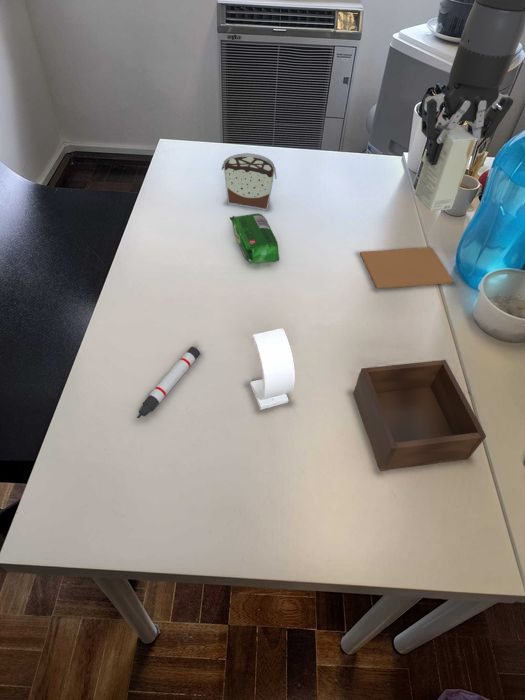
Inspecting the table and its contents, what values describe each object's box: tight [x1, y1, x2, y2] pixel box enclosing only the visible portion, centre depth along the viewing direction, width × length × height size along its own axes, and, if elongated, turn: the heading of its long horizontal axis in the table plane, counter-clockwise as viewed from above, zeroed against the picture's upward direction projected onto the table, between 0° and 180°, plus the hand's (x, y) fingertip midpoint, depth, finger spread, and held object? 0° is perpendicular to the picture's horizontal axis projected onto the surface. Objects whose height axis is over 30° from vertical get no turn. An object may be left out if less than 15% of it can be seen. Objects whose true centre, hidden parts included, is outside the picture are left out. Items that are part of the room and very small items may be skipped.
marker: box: [136, 346, 201, 419], centre depth 74 cm, size 15×2×2 cm, turn 152°
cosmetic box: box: [414, 123, 477, 212], centre depth 78 cm, size 6×4×12 cm
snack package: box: [229, 212, 280, 265], centre depth 97 cm, size 7×16×5 cm, turn 17°
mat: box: [359, 246, 454, 290], centre depth 97 cm, size 16×11×1 cm
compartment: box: [352, 359, 487, 472], centre depth 70 cm, size 14×14×7 cm
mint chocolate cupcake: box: [221, 152, 277, 211], centre depth 107 cm, size 12×6×10 cm, turn 77°
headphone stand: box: [250, 327, 296, 411], centre depth 70 cm, size 5×6×12 cm
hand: (446, 161), depth 77 cm, fingers closed on cosmetic box, 4 cm apart
